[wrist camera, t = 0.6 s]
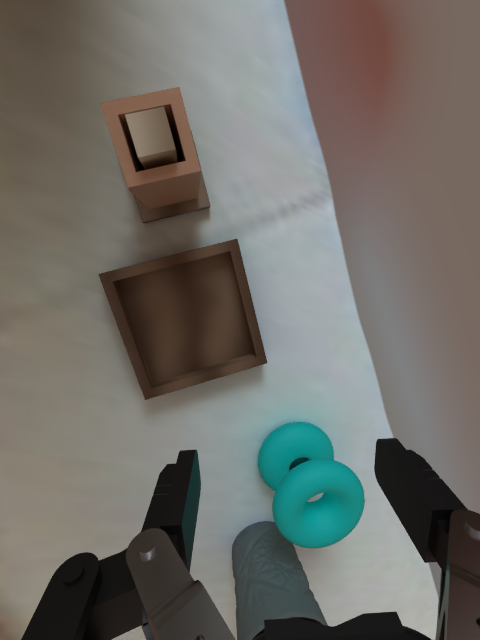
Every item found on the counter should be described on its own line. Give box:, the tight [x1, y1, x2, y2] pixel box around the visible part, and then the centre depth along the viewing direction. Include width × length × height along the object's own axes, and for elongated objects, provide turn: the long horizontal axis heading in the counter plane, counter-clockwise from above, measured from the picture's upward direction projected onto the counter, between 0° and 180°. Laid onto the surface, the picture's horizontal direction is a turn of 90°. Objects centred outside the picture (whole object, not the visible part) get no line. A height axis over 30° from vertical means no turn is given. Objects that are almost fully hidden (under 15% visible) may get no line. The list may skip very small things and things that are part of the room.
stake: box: [125, 107, 210, 223], centre depth 24 cm, size 7×7×12 cm
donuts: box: [258, 422, 365, 548], centre depth 34 cm, size 10×10×10 cm
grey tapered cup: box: [232, 522, 328, 640], centre depth 36 cm, size 10×10×12 cm
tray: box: [99, 239, 267, 400], centre depth 32 cm, size 14×14×2 cm
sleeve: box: [101, 87, 201, 210], centre depth 24 cm, size 5×5×10 cm
